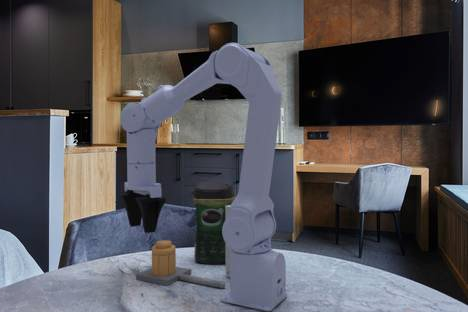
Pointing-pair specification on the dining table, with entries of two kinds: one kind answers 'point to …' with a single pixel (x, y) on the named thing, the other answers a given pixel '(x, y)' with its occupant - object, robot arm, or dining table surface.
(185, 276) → the gray square paddle
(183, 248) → the dining table surface
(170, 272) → the wire nut
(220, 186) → the coffee jar
